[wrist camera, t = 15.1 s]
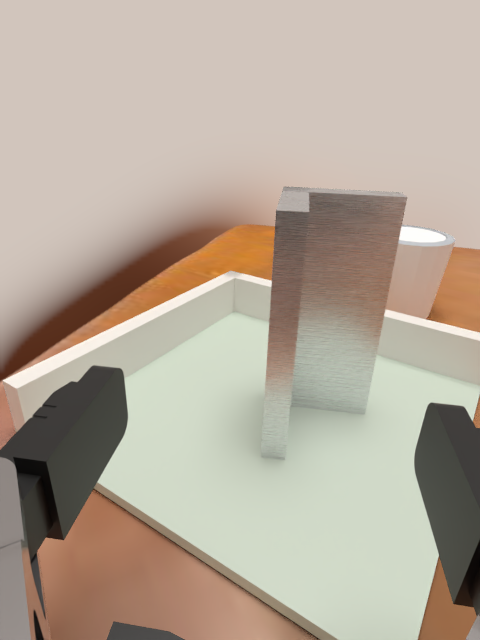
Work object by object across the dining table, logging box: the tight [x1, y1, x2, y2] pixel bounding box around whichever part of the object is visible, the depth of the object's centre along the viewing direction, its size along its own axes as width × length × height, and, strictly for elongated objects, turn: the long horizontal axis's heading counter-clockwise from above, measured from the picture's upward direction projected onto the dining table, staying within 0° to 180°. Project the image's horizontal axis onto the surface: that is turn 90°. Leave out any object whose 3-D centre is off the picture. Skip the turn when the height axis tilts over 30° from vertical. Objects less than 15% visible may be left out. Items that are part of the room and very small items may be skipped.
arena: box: [3, 271, 480, 640], centre depth 25 cm, size 20×20×4 cm
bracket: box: [261, 187, 407, 460], centre depth 21 cm, size 6×6×12 cm
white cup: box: [386, 225, 455, 319], centre depth 37 cm, size 7×7×7 cm
